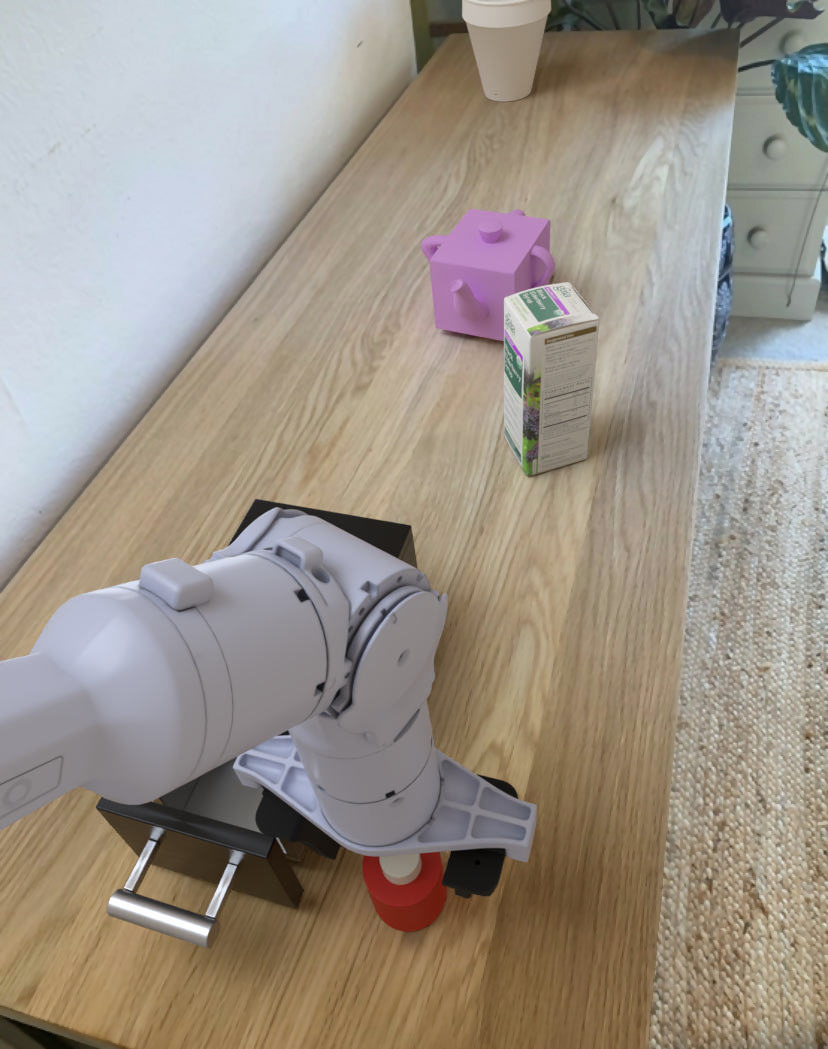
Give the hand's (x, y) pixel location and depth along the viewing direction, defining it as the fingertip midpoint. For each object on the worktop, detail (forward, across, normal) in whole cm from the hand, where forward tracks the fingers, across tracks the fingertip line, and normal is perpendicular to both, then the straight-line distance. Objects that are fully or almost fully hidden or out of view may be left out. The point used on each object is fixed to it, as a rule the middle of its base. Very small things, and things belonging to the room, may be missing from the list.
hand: (400, 859), depth 47 cm
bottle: (+5, 0, 0) cm, 5 cm away
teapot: (+5, +10, -57) cm, 58 cm away
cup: (+6, +21, -113) cm, 115 cm away
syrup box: (+5, 0, -39) cm, 39 cm away
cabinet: (+5, +11, -13) cm, 18 cm away
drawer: (+4, +11, -1) cm, 12 cm away
